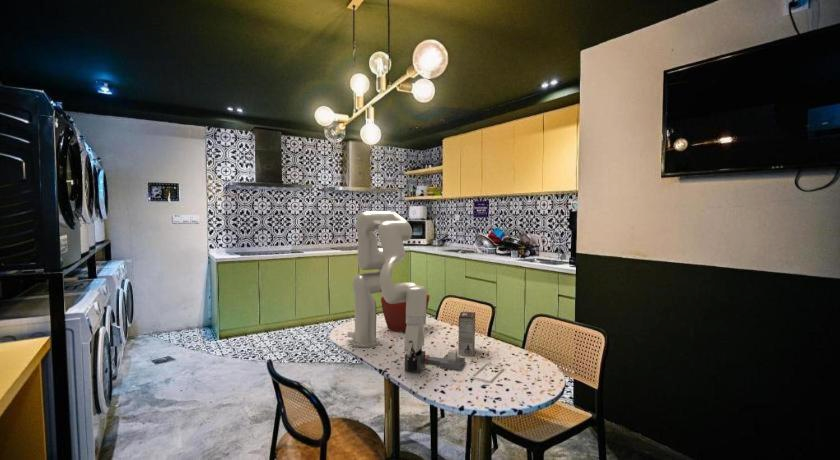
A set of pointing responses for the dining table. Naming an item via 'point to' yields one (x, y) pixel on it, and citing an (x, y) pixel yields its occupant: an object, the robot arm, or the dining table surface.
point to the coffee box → (466, 333)
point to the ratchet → (447, 361)
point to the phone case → (486, 379)
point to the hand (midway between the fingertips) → (414, 366)
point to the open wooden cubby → (417, 361)
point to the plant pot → (396, 314)
